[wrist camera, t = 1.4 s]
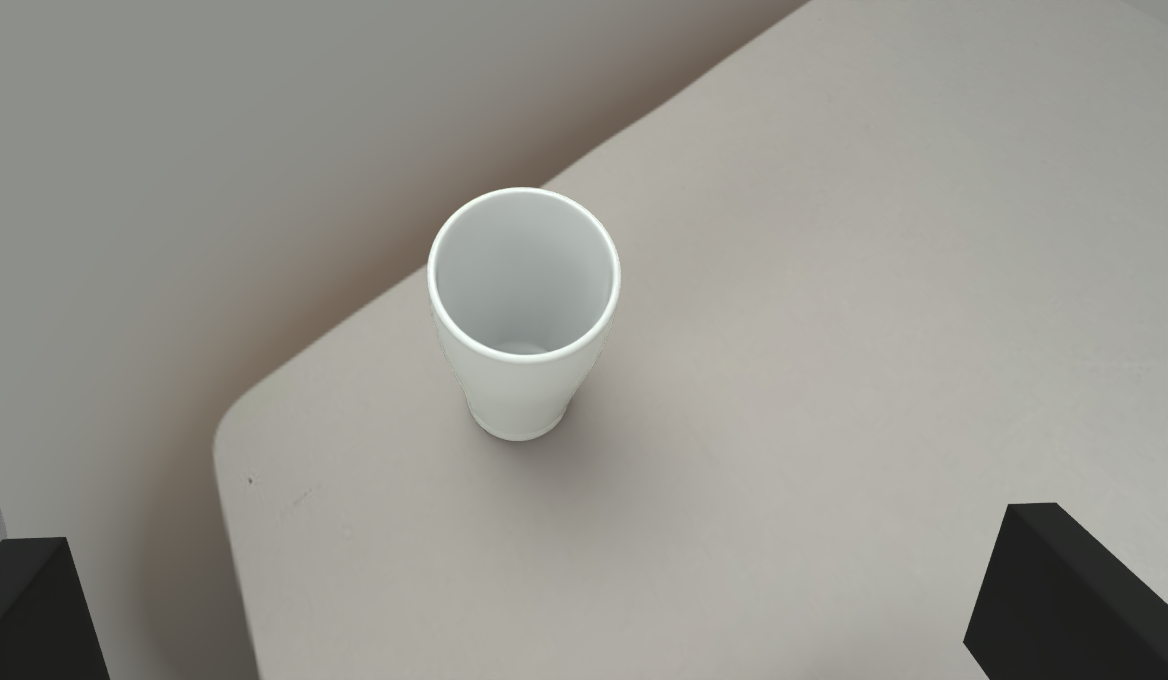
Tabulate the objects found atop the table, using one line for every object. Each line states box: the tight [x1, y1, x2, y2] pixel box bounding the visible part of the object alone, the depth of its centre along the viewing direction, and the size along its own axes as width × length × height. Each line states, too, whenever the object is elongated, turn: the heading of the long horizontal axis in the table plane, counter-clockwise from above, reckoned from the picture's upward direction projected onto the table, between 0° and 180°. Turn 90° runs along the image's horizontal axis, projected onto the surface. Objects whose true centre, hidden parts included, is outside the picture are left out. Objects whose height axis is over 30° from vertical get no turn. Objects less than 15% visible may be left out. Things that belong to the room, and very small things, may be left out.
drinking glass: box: [427, 187, 621, 441], centre depth 32 cm, size 7×7×15 cm
